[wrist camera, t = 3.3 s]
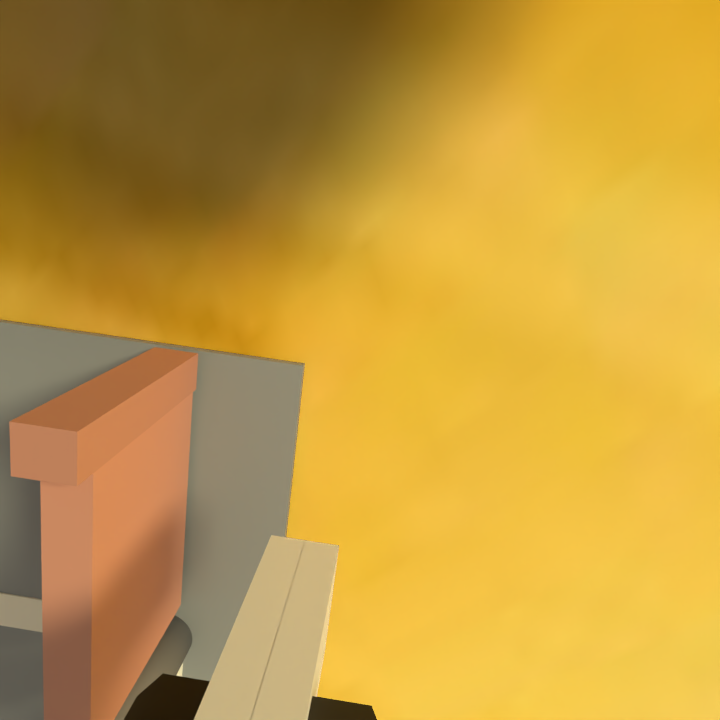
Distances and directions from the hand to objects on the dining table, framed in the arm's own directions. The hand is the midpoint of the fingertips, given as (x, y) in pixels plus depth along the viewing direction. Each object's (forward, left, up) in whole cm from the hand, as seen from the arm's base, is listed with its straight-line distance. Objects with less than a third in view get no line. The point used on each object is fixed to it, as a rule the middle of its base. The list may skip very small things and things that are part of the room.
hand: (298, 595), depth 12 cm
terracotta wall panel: (+1, -5, -6) cm, 8 cm away
